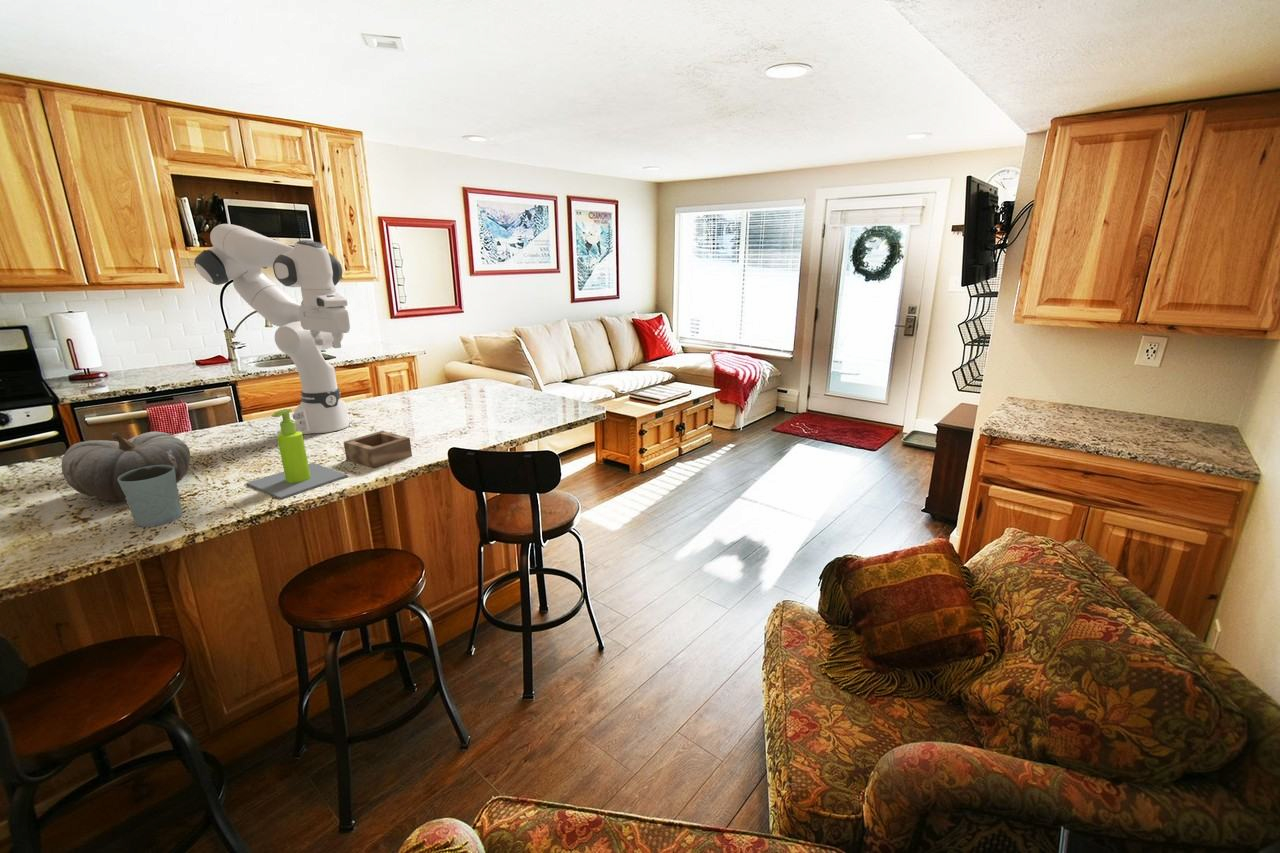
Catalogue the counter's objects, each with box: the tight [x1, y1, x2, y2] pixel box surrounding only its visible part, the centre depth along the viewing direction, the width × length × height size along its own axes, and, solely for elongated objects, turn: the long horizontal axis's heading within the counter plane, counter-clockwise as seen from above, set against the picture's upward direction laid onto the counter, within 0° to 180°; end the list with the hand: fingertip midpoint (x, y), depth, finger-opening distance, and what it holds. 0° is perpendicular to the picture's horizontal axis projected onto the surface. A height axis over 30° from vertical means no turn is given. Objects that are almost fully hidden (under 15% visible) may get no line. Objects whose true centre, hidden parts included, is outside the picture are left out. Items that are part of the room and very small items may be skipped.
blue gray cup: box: [117, 465, 183, 528], centre depth 130 cm, size 10×10×12 cm
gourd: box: [61, 431, 191, 502], centre depth 145 cm, size 25×25×17 cm
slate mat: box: [246, 462, 348, 500], centre depth 154 cm, size 18×18×1 cm
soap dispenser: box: [271, 408, 311, 483], centre depth 150 cm, size 6×7×20 cm
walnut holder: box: [343, 430, 413, 470], centre depth 170 cm, size 14×13×6 cm
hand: (328, 346), depth 165 cm, fingers open, 8 cm apart
